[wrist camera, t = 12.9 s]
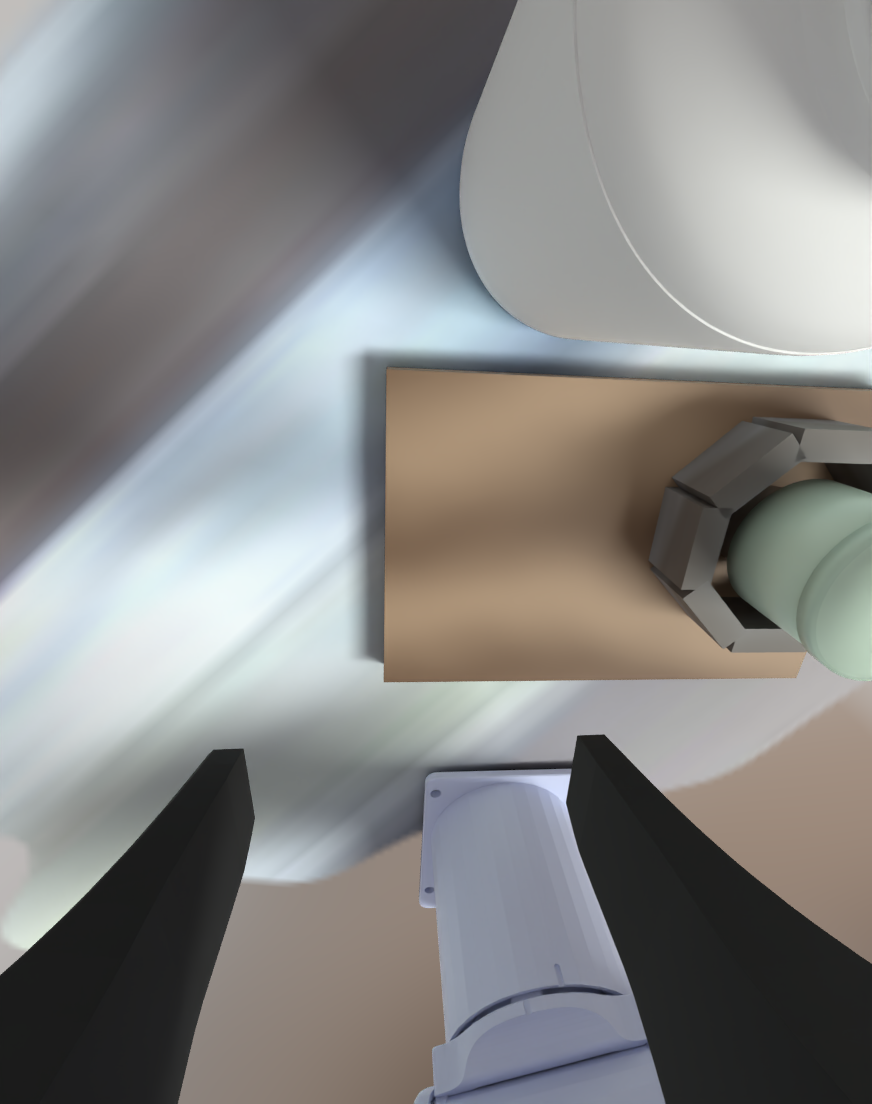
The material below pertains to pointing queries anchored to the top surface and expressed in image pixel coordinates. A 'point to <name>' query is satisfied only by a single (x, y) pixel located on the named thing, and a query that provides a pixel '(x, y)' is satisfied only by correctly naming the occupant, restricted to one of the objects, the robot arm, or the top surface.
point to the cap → (811, 570)
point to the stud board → (592, 521)
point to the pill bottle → (678, 173)
